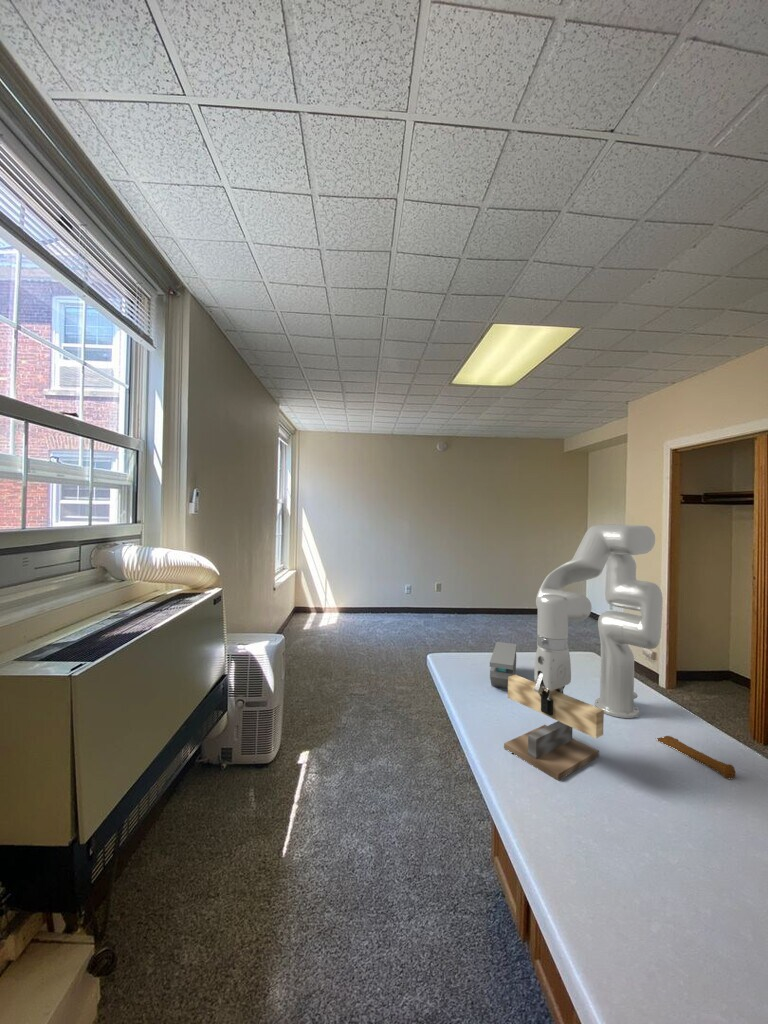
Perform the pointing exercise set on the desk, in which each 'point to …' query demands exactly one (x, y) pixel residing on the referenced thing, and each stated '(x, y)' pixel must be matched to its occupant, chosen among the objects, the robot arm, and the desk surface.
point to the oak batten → (559, 706)
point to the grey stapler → (502, 664)
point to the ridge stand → (552, 750)
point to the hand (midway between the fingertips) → (551, 710)
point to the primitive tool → (700, 757)
